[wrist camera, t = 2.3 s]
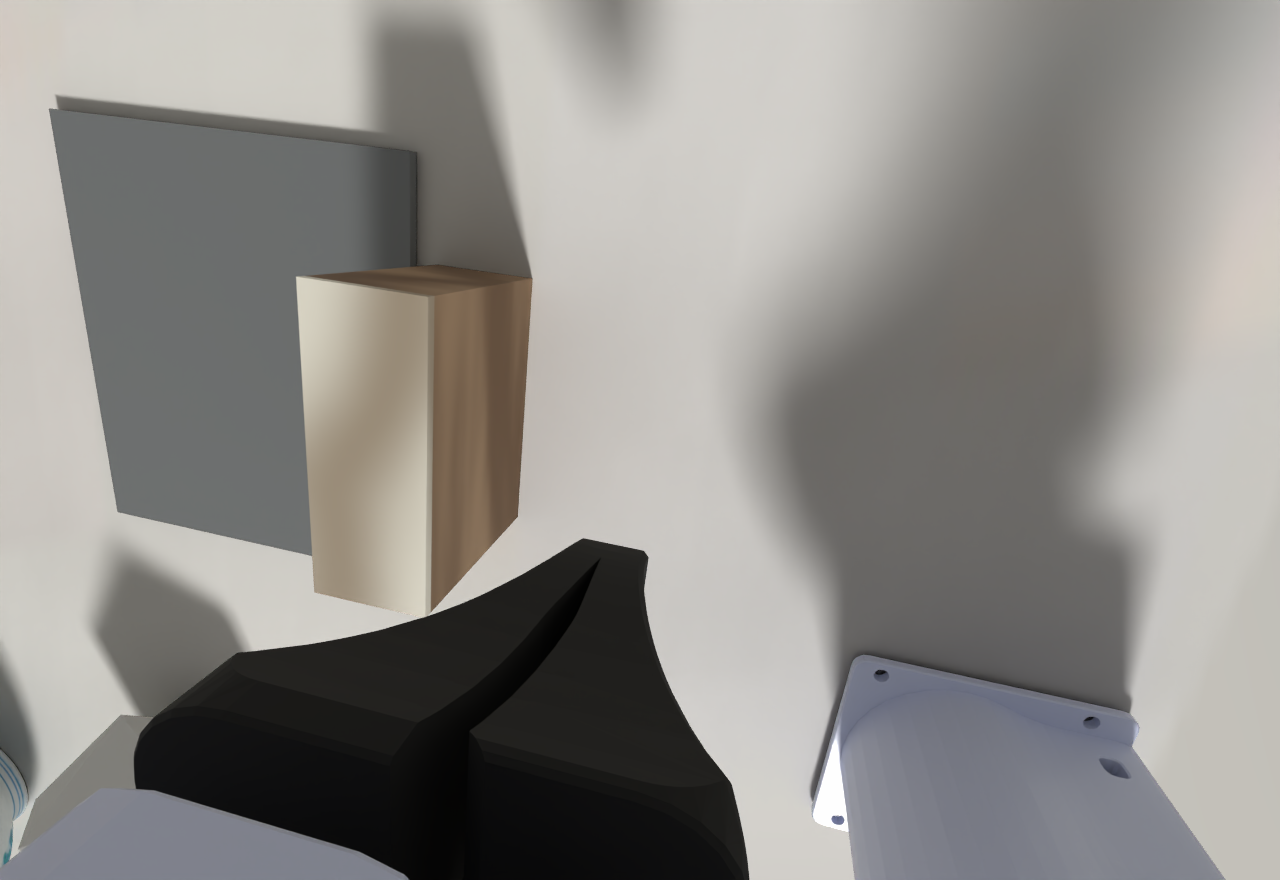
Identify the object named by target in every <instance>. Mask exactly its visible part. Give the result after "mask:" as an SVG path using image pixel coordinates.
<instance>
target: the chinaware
mask: <svg viewBox="0 0 1280 880" xmlns="http://www.w3.org/2000/svg"><path fill="white" fill-rule="evenodd" d="M27 802H28V793H27V788H26V785H25V782H24V780H23V778H22V776H21V774H20V772H19V770H18V769H17V767H16V766H15V765H14V763H13V762H12V761H11V760H10V758H9V757H8V756H7V755H6V754H5V753H4V752H3V751H2V750H1V749H0V868H1V867H2V866H4V865H5V864H6V863H7V862H8V861H9V859H10V855H11V849H12V841H13V821H14V820H15V819H17V818H18V817H19V816H20V815H21V814H22V813H23V812H24V811H25V809H26V806H27Z"/></svg>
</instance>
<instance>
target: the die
mask: <svg viewBox="0 0 1280 880" xmlns="http://www.w3.org/2000/svg"><path fill="white" fill-rule="evenodd" d="M153 718H154V717H144V716H128V715H120V716H119V717H118V718H117V719H116V720H115V721H114V722H113V723H112V724H111V725H110V726H109V727H108V728H107V729H106V730H105V731H104V732H103V733H102V734H101V735H100V736H99V737H98V738H97V739H96V740H95V741H94V742H93V743H92V744H91V745H90V746H89V747H88V748H87V749H86V750H85V751H84V752H83V753H82V754H81V755H80V756H79V757H78V758H77V759H76V760H75V761H74V762H73V763H72V764H71V765H70V766H69V767H68V768H67V769H66V770H65V771H64V772H63V773H62V774H61V775H60V776H59V777H58V778H57V779H56V780H55V781H54V782H53V783H52V784H51V785H50V786H49V787H48V788H47V789H46V790H45V791H44V792H43V793H42V794H41V795H40V796H39V797H38V798H37V799H36V800H35V803H34V806H33V808H32V811H31V814H30V817H29V820H28V823H27V825H26V828H25V831H24V834H23V837H22V840H21V842H20V845H19V848H18V851H19V852H21V851H22V850H23V849H24V848H25V847H27V846H28V845H29V844H30V843H32V842H33V841H34V840H35V839H36V838H38V837H39V836H40V835H41V834H43V833H44V832H45V831H46V830H47V829H49V828H50V827H51V826H52V825H54V824H55V823H56V822H57V821H58V820H60V819H61V818H62V817H63V816H65V815H66V814H67V813H68V812H69V811H71V810H72V809H73V808H74V807H76V806H77V805H78V804H80V803H81V802H82V801H84V800H85V799H87V798H88V797H89V796H91V795H92V794H93V793H95V792H96V791H98V790H99V789H100V788H126V789H136V786H135V781H134V751H135V748H136V744H137V741H138V738H139V735H140V733H141V731H142V730H143V729H144V728H145V727H146V726H147V724H148V723H149V722H150V721H151V720H152V719H153Z"/></svg>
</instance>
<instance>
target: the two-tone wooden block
mask: <svg viewBox="0 0 1280 880" xmlns="http://www.w3.org/2000/svg"><path fill="white" fill-rule="evenodd" d="M296 285H297V303H298V320H299V337H300V354H301V371H302V388H303V405H304V422H305V439H306V457H307V474H308V491H309V508H310V525H311V542H312V559H313V576H314V592H315V593H320V594H324V595H328V596H332V597H337V598H341V599H345V600H349V601H354V602H358V603H362V604H366V605H371V606H375V607H379V608H383V609H388V610H392V611H396V612H400V613H404V614H409V615H413V616H417V617H421V618H423V617H427V616H428V615H429V614H430V613H431V612H432V610H433V609H434V608H435V607H436V606H437V605H438V604H439V603H440V602H441V601H442V599H443V598H444V597H445V596H446V595H447V594H448V593H449V592H450V591H451V590H452V588H453V587H454V586H455V585H456V584H457V583H458V582H459V581H460V580H461V579H462V577H463V576H464V575H465V574H466V573H467V572H468V571H469V570H470V569H471V568H472V566H473V565H474V564H475V563H476V562H477V561H478V560H479V559H480V558H481V556H482V555H483V554H484V553H485V552H486V551H487V550H488V549H489V548H490V547H491V545H492V544H493V543H494V542H495V541H496V540H497V539H498V538H499V537H500V536H501V534H502V533H503V532H504V531H505V530H506V529H507V528H508V527H509V526H510V525H511V523H512V522H513V521H514V520H515V519H516V518H517V517H518V504H519V487H520V471H521V455H522V439H523V423H524V407H525V391H526V375H527V359H528V342H529V326H530V310H531V294H532V278H525V277H518V276H511V275H504V274H497V273H490V272H484V271H477V270H470V269H463V268H456V267H449V266H442V265H427V266H416V267H404V268H392V269H380V270H368V271H356V272H344V273H333V274H321V275H309V276H297V277H296Z"/></svg>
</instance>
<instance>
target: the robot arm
mask: <svg viewBox="0 0 1280 880" xmlns="http://www.w3.org/2000/svg"><path fill="white" fill-rule="evenodd" d="M647 564H648V556H647V555H646V553H645V552H644V551H642V550H637V549H632V548H628V547H623V546H618V545H613V544H608V543H603V542H599V541H594V540H589V539H584V538H583V539H581V540H579V541H578V542H576V543H574V544H573V545H571V546H569V547H568V548H566V549H564V550H563V551H561V552H560V553H558V554H556V555H555V556H553V557H551V558H550V559H548V560H546V561H545V562H543V563H541V564H540V565H538V566H536V567H534V568H533V569H531V570H529V571H528V572H526V573H524V574H522V575H520V576H519V577H517V578H515V579H513V580H511V581H509V582H507V583H505V584H503V585H501V586H499V587H497V588H495V589H493V590H491V591H489V592H487V593H485V594H483V595H481V596H479V597H476V598H474V599H472V600H469V601H467V602H465V603H462V604H460V605H457V606H454V607H452V608H449V609H447V610H444V611H441V612H439V613H436V614H433V615H430V616H427V617H423V618H420V619H417V620H413V621H410V622H406V623H403V624H400V625H396V626H393V627H390V628H386V629H383V630H379V631H374V632H370V633H366V634H361V635H357V636H352V637H347V638H342V639H337V640H332V641H326V642H321V643H315V644H308V645H301V646H293V647H285V648H277V649H269V650H261V651H253V652H241V653H236V654H235V655H234V656H232V657H231V658H230V659H228V660H227V661H226V662H224V663H223V664H222V665H221V666H219V667H218V668H217V669H215V670H214V671H213V672H212V673H210V674H209V675H208V676H206V677H205V678H204V679H203V680H201V681H200V682H199V683H197V684H196V685H195V686H194V687H192V688H191V689H190V690H188V691H187V692H186V693H185V694H183V695H182V696H181V697H179V698H178V699H177V700H176V701H174V702H173V703H172V704H170V705H169V706H168V707H167V708H165V709H164V710H163V711H161V712H160V713H159V714H158V715H156V716H155V717H154V718H153V719H152V720H151V721H150V722H149V723H148V724H147V726H146V727H145V728H144V729H143V730H142V731H141V733H140V735H139V738H138V741H137V744H136V748H135V751H134V781H135V786H136V789H126V788H100V789H99V790H98V791H96V792H95V793H93V794H92V795H91V796H89V797H88V798H87V799H85V800H84V801H82V802H81V803H80V804H78V805H77V806H76V807H74V808H73V809H72V810H71V811H69V812H68V813H67V814H66V815H65V816H63V817H62V818H61V819H60V820H58V821H57V822H56V823H55V824H54V825H52V826H51V827H50V828H49V829H47V830H46V831H45V832H44V833H43V834H41V835H40V836H39V837H38V838H36V839H35V840H34V841H33V842H32V843H30V844H29V845H28V846H27V847H25V848H24V849H23V850H22V851H21V852H19V853H18V854H17V855H16V856H14V857H13V858H12V859H11V860H10V861H8V862H7V863H6V864H5V865H4V866H2V867H1V868H0V880H749V871H748V862H747V854H746V848H745V842H744V836H743V831H742V827H741V822H740V817H739V813H738V809H737V804H736V800H735V796H734V792H733V788H732V784H731V783H730V781H729V780H728V778H727V777H726V776H725V775H724V773H723V772H722V771H721V769H720V768H719V767H718V766H717V764H716V763H715V762H714V761H713V759H712V758H711V757H710V756H709V754H708V753H707V752H706V750H705V749H704V747H703V746H702V744H701V743H700V741H699V740H698V738H697V737H696V735H695V733H694V732H693V730H692V729H691V727H690V725H689V724H688V722H687V720H686V718H685V716H684V714H683V712H682V710H681V708H680V707H679V705H678V703H677V701H676V699H675V697H674V695H673V693H672V691H671V689H670V687H669V684H668V682H667V679H666V677H665V675H664V672H663V670H662V667H661V664H660V661H659V658H658V656H657V652H656V649H655V646H654V642H653V639H652V635H651V630H650V626H649V622H648V616H647V611H646V603H645V596H644V585H645V578H646V571H647ZM877 670H885V671H886V673H885V674H882V675H877V674H875V671H877ZM1088 717H1094V718H1093V719H1092V720H1089V721H1084V720H1085V719H1086V718H1088ZM1138 733H1139V725H1138V723H1137V721H1136V720H1135V719H1134V717H1133V716H1131V715H1130V714H1129V713H1127V712H1124V711H1121V710H1116V709H1111V708H1107V707H1102V706H1098V705H1093V704H1089V703H1084V702H1080V701H1075V700H1071V699H1066V698H1061V697H1057V696H1052V695H1048V694H1043V693H1039V692H1034V691H1030V690H1025V689H1020V688H1016V687H1011V686H1007V685H1002V684H998V683H993V682H989V681H984V680H980V679H975V678H970V677H966V676H961V675H957V674H952V673H948V672H943V671H939V670H934V669H930V668H925V667H920V666H916V665H911V664H907V663H902V662H898V661H893V660H889V659H884V658H879V657H875V656H870V655H861V656H858V657H856V658H855V659H854V660H853V662H852V664H851V668H850V671H849V675H848V678H847V682H846V686H845V689H844V693H843V696H842V700H841V703H840V707H839V710H838V714H837V718H836V721H835V725H834V728H833V732H832V735H831V739H830V743H829V746H828V750H827V753H826V757H825V760H824V764H823V768H822V771H821V775H820V778H819V782H818V785H817V789H816V793H815V796H814V800H813V803H812V817H813V819H814V820H815V821H816V822H817V823H819V824H822V825H825V826H829V827H833V828H836V829H840V830H844V831H848V832H849V839H850V846H851V854H852V862H853V870H854V877H855V880H1225V878H1224V877H1223V875H1222V874H1221V872H1220V871H1219V870H1218V868H1217V867H1216V865H1215V864H1214V863H1213V861H1212V860H1211V858H1210V857H1209V855H1208V854H1207V853H1206V852H1205V850H1204V848H1203V847H1202V846H1201V844H1200V843H1199V841H1198V840H1197V838H1196V837H1195V836H1194V834H1193V833H1192V831H1191V830H1190V829H1189V827H1188V826H1187V824H1186V823H1185V822H1184V820H1183V819H1182V817H1181V816H1180V815H1179V813H1178V812H1177V810H1176V809H1175V807H1174V806H1173V804H1172V803H1171V802H1170V800H1169V799H1168V797H1167V796H1166V795H1165V793H1164V792H1163V790H1162V789H1161V787H1160V786H1159V785H1158V783H1157V782H1156V780H1155V779H1154V777H1153V776H1152V775H1151V773H1150V772H1149V770H1148V769H1147V768H1146V766H1145V765H1144V763H1143V762H1142V760H1141V759H1140V758H1139V756H1138V755H1137V753H1136V752H1135V751H1134V749H1133V748H1132V745H1133V743H1134V741H1135V739H1136V737H1137V735H1138ZM834 815H841V816H834Z"/></svg>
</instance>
